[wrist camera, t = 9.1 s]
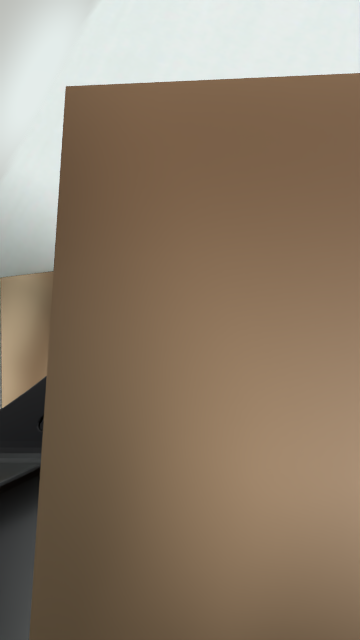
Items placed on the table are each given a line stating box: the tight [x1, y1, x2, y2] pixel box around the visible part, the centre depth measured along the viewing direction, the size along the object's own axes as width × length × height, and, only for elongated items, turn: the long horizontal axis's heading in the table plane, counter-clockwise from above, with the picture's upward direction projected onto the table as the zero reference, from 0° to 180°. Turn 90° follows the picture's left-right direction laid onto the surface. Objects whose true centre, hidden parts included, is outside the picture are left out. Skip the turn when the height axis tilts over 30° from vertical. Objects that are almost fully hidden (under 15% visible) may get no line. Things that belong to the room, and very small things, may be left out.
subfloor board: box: [0, 271, 54, 408], centre depth 21 cm, size 22×16×1 cm
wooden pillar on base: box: [29, 73, 360, 640], centre depth 9 cm, size 5×5×13 cm
